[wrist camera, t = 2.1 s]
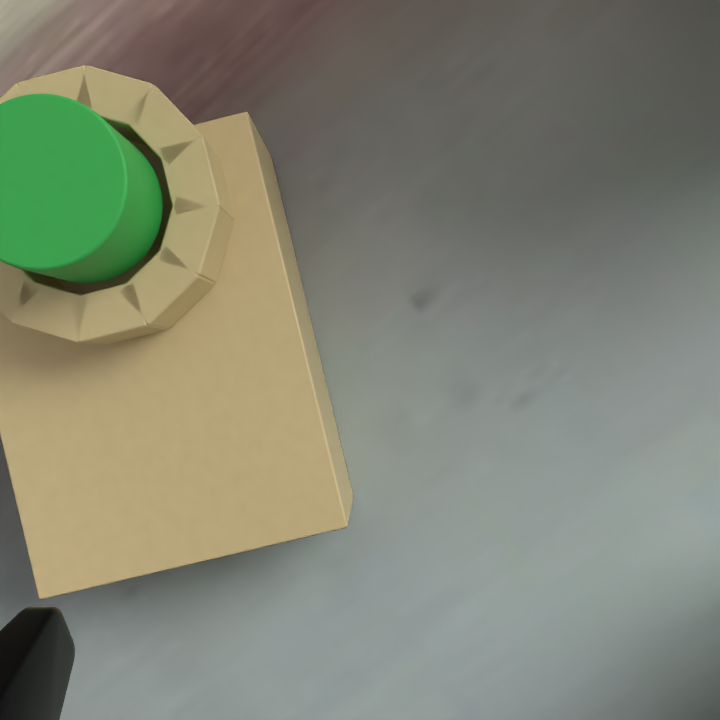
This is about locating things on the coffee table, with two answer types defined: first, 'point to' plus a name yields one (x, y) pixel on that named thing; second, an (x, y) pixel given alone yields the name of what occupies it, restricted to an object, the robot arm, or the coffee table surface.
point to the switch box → (169, 369)
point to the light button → (72, 192)
